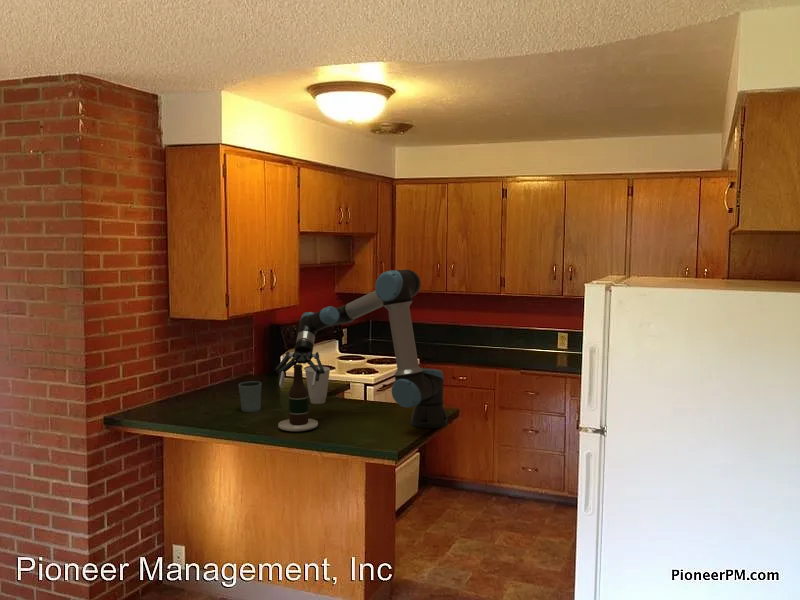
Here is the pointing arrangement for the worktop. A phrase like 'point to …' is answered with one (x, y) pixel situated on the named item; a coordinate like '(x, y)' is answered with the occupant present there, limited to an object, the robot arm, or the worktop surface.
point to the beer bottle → (298, 399)
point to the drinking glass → (250, 396)
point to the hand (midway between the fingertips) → (297, 386)
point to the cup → (317, 385)
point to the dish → (297, 428)
